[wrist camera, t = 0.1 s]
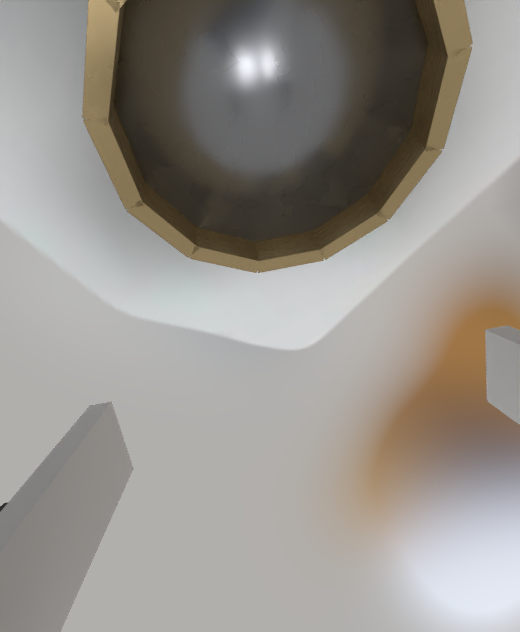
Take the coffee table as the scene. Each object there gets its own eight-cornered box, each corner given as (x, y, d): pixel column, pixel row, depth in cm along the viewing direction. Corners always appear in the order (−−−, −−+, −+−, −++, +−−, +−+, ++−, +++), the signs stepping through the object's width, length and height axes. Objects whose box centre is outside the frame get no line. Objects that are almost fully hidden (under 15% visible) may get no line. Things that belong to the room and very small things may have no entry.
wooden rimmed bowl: (11, -105, 13) (-26, -105, 10) (481, -195, 13) (545, -215, 10) (166, 256, 26) (164, 290, 24) (396, 212, 26) (416, 242, 23)
